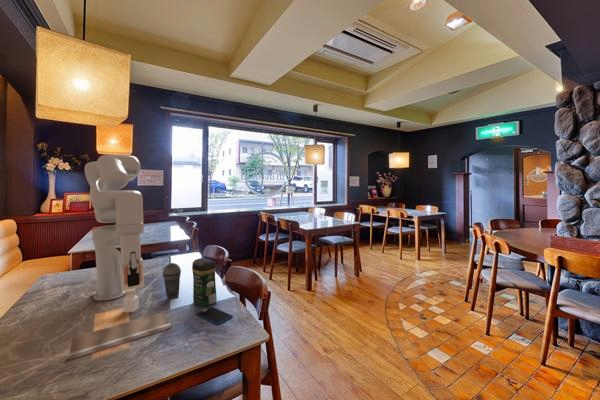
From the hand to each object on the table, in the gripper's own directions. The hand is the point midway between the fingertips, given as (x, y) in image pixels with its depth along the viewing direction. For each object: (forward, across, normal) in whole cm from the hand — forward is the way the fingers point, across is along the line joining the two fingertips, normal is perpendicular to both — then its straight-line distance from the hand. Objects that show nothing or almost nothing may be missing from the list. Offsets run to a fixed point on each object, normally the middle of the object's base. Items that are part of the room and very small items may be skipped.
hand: (132, 282), depth 86 cm
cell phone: (+18, +5, +25) cm, 31 cm away
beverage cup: (+18, -21, +16) cm, 32 cm away
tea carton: (+1, 0, 0) cm, 1 cm away
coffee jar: (+18, -8, +26) cm, 32 cm away
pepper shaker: (+18, -17, 0) cm, 25 cm away
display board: (+17, -1, -3) cm, 18 cm away
